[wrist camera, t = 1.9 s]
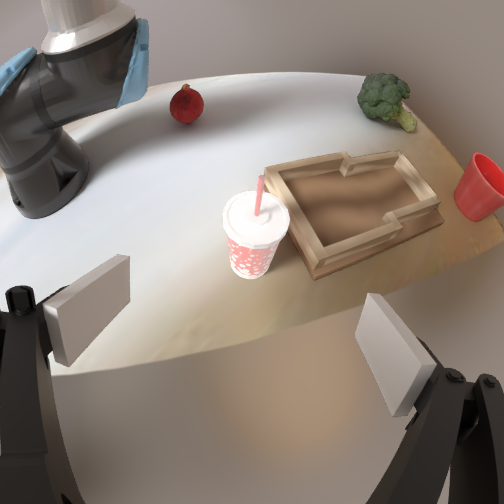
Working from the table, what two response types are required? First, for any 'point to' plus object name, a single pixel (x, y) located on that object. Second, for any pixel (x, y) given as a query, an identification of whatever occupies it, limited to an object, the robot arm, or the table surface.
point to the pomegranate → (186, 105)
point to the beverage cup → (254, 230)
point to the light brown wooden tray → (351, 206)
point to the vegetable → (386, 99)
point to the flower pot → (480, 188)
